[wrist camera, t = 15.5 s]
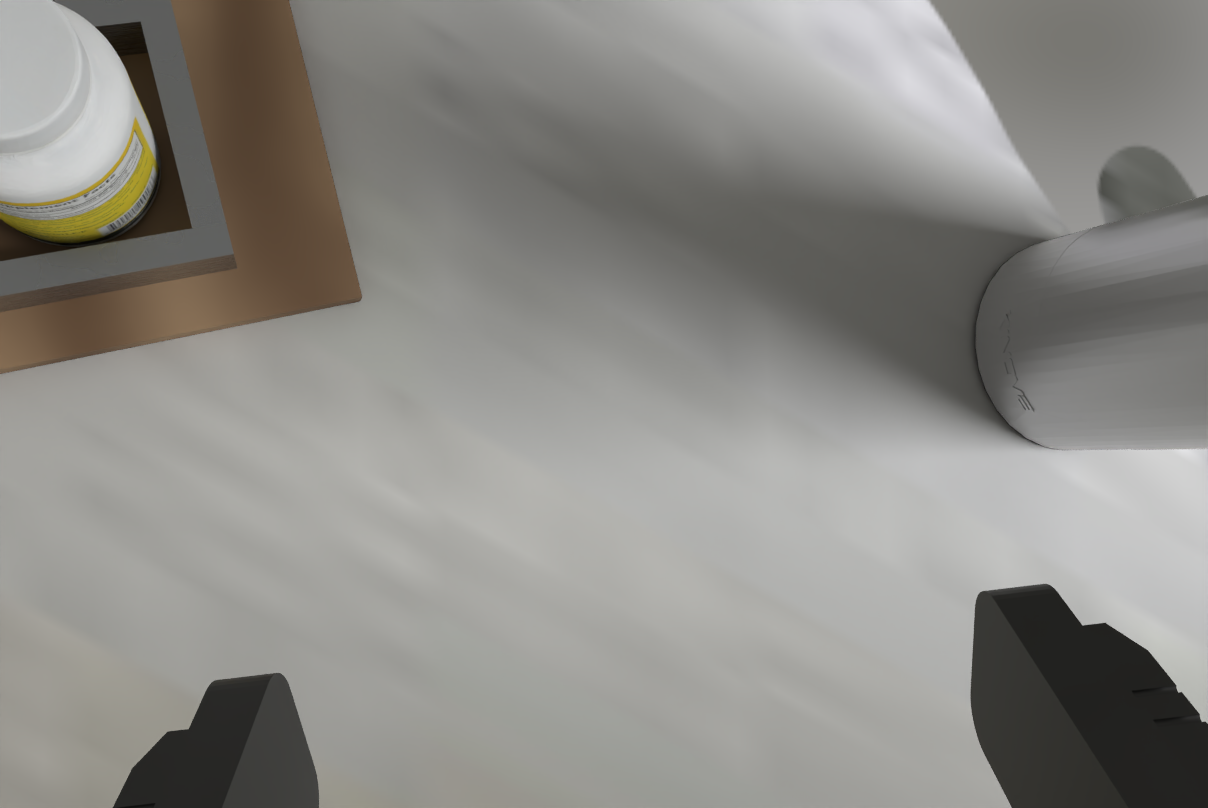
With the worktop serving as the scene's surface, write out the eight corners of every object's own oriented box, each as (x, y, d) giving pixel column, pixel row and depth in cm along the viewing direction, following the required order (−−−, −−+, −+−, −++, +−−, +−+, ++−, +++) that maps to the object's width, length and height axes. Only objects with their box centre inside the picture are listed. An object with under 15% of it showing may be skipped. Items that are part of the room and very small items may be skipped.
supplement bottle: (-31, 82, 32) (-158, -72, 23) (156, 86, 34) (109, -57, 25) (-19, 254, 32) (-142, 169, 23) (168, 249, 34) (125, 167, 24)
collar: (175, 19, 34) (166, -15, 32) (237, 268, 34) (233, 253, 32) (-115, 52, 32) (-148, 18, 29) (-47, 320, 32) (-74, 309, 29)
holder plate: (278, -31, 36) (277, -44, 35) (360, 301, 36) (361, 297, 36) (-257, 24, 31) (-274, 10, 30) (-159, 405, 32) (-172, 404, 31)
